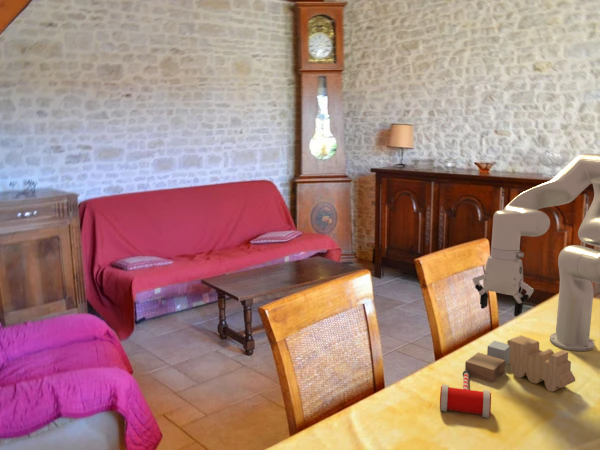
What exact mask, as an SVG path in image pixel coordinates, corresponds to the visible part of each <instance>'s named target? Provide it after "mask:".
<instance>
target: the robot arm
mask: <svg viewBox="0 0 600 450" xmlns="http://www.w3.org/2000/svg"><path fill="white" fill-rule="evenodd" d="M591 184H592V188H593V195H594V196H593V199H592V202H591V204H590V206H589V208H588V210H587V212H586V214H585V216H584V218H583V220H582V222H581V223H580V226H579V228H578V231H577V236H578V239H579V240H580V241H581V242H582V243H584V244H587V245H590V246H592V247H593V246H594V247H597V248H600V153H581V154H579V155H577V156H575V157H574V158H573V159H572V160H571V161H570V162H569V163H568V164H566V165H565V166H564V167H563V168H562V169H561V170H559V172H558V173H557V174H555V175H554V176H553V177H552V178H551V179H550V180H548V181H546V182H544V183H541V184H538V185H536V186H533V187H532V188H529V189H527V190H525V191H523V192H521V193H520V194H517V196H515V197H514V198H513V199H512V200H511V201H510V202H509V203H507V205H506V206H504V208H503V209H502V210H496V211H495V212H494V214H493V217H492V233H491V246H490V255H489V256H488V257H487V261H486V264H485V267H484V268H485V269H484V274H481V275H478V276H475V277H473V278H472V282H473V284H474V288H475V289H476V291H477V292H478V294H479V296H480V297H479V305H480V309H483V310H484V309H485V308H487V307H488V302H489V294H488V292H494V293H499V294H503V295H508V296H513V298H514V299H515V303H514V310H513V311H514V312H513V316H514V317H518V316H519V315H520V314H522V312H523V305H524V302H525V301H526V300H528V299H529V298H531V296H532V295H533V294H534V292H535V288H533V287H531V285H529V284H527V283H526V282H524V268H523V267H524V266H523V260H522V259H520V258H524V257H525V253H524V252H522V251H521V248H520V247H521V237H522V236H523V237H540V236H543V235H544V234H546V233H547V231H548V230H549V229H550V226H551V219H550V217H549V216H548V214H547V213H546V212H543V211H542V210H540V209H545V208H550V207H556V206H557V207H559V206H561V205H566V204H569V203H571V202H573V201H574V200H575V199H576V198H578V196H579V195H580V194H581V193H582V192H583V191H585V190H586V188H588V187H589V186H590V185H591ZM592 247H587V246H583V245H577V244H572V245H567V246H565V247H563V249H562V250H560V252H559V254H558V258H557V259H558V260H557V265H558V272H559V289H558V291H559V293H558V299H557V300H558V302H557V311H556V313H557V314H556V315H557V316H556V325H555V327H556V328H555V333H552V334H550V336H549V341H550V343H551V344H553V345H554V346H556V347H558V348H561V349H563V350H567V351H573V352H574V351H576V352H587V351H591V350H593V349H594V348H595V341H594V340H593V339H592V338H590V335H591V334H590V332H591V325H592V324H591V323H592V312H593V301H594V293H595V292H594V286H593V283H595V284H599V285H600V250H599V249H595V248H592ZM480 281H483V282H482V283H483V284H481V282H480ZM523 290H525V291H526V293H525V294H524V295H523V294H522V292H523Z"/></svg>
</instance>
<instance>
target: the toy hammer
mask: <svg viewBox="0 0 600 450" xmlns="http://www.w3.org/2000/svg"><path fill="white" fill-rule="evenodd" d="M462 377H463V382H462V383H463V384H462V388H457V387H450V386H449V384H443V383H442V384H441V386H440V393H439V394H440V395H439V409H440V411H441V412H448V411H453V412H461V413H469V414H473V415H474V414H475V415H481V416H482V418H486V419H489V418H490V416H491V409H492V393H491V391H490V390H488V389H483V390H482V391H480V390H473V389H469V381H470V380H469V379H470V377H471V376H470V372H469V371H467V370H465V369H464V370H463V372H462Z"/></svg>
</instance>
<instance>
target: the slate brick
mask: <svg viewBox="0 0 600 450" xmlns="http://www.w3.org/2000/svg"><path fill="white" fill-rule="evenodd" d="M486 352H487V353H486V355H489V356H492V357H496V358H499V359H502V360H505V366H506V365H507V364H509V359H510V347H509V345H508V343H506V342H505V343H504V342H501V341H497V340H493V341H492V342H491V343H489V344H488V345H487V350H486Z"/></svg>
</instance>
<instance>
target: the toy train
mask: <svg viewBox="0 0 600 450" xmlns="http://www.w3.org/2000/svg"><path fill="white" fill-rule="evenodd" d="M506 344H508V345H509V347H510V359H509V362H508V365H509V366H510V367H511V373H512V374H513V376H515V377H517V378H520V379H521V378H523V377H525V376H526V378H527V379H528V381H529V382H531V383H533V384H538V383H541V382H542V381H543V382H544V386H545V388H546V390H548V391H549V392H555V391H556V390H559V389H560V388H564V387H566V386H568V385H570V384H573V383H574V382H576V377H575V376H574V374H573V372H572V369H571V364H572V362H571V360H569V351H568V350H566V349H561V350H559V351H556V352H554V351H553V350H552V349H551V348H548V349H546V350H541V349H540V342H539V341H538V340H535V339H532V338H530V337H526V336H523V335H519V336H516V337H513V338H511V339H508V340H507V343H506Z"/></svg>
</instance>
